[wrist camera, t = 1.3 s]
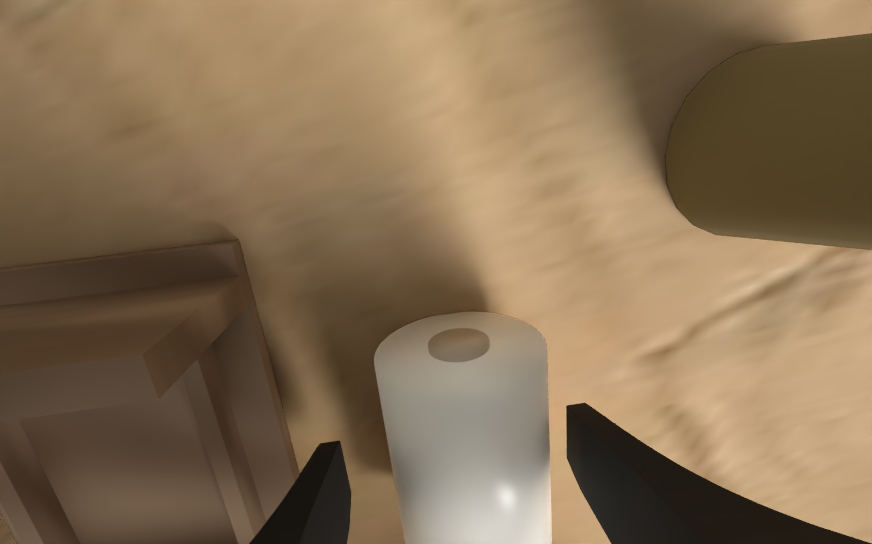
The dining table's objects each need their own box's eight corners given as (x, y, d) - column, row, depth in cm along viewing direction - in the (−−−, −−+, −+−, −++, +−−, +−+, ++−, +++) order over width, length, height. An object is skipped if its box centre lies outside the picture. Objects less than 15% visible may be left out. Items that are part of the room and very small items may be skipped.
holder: (322, 564, 17) (289, 756, 12) (73, 607, 16) (-83, 830, 11) (238, 239, 13) (124, 305, 7) (-102, 281, 12) (-495, 385, 7)
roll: (513, 460, 17) (583, 577, 12) (395, 493, 16) (421, 635, 11) (504, 297, 15) (584, 364, 10) (366, 324, 14) (383, 412, 9)
